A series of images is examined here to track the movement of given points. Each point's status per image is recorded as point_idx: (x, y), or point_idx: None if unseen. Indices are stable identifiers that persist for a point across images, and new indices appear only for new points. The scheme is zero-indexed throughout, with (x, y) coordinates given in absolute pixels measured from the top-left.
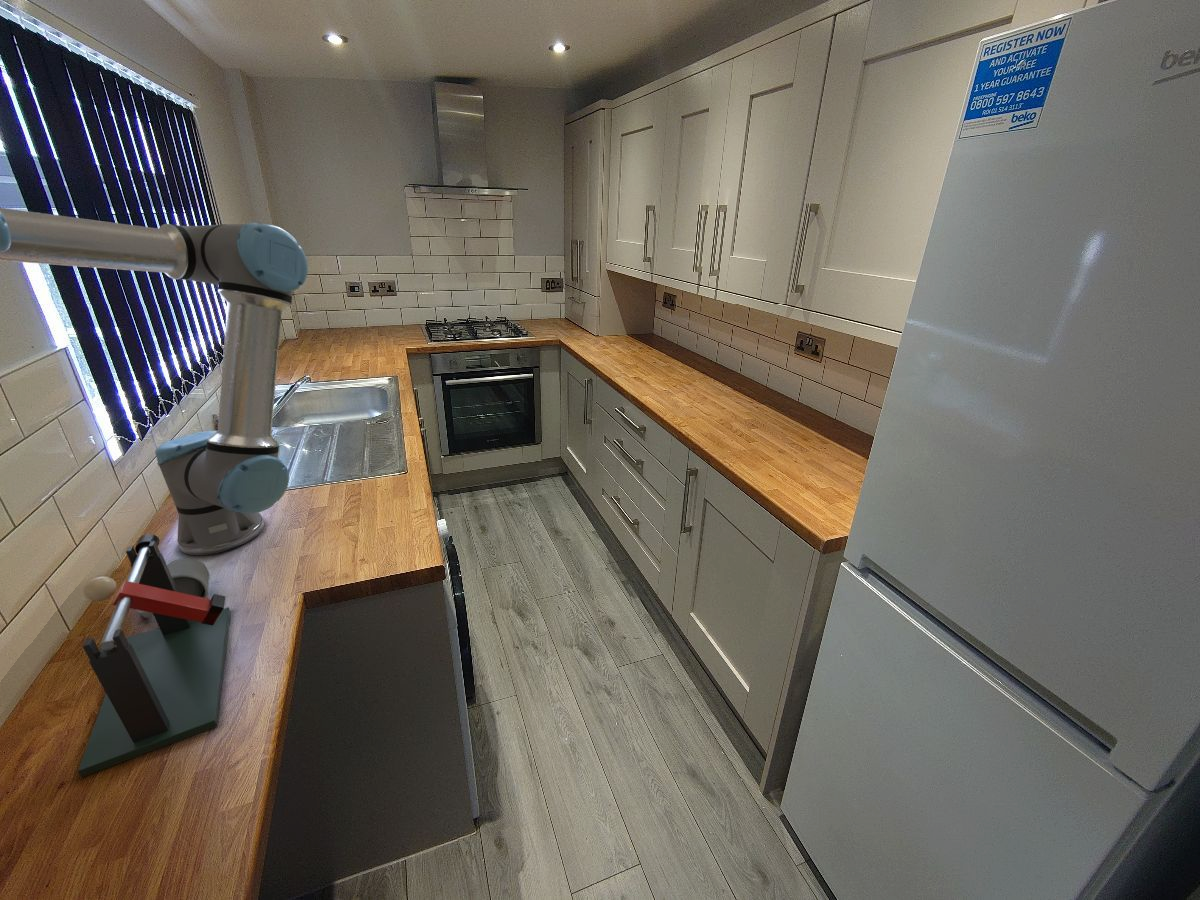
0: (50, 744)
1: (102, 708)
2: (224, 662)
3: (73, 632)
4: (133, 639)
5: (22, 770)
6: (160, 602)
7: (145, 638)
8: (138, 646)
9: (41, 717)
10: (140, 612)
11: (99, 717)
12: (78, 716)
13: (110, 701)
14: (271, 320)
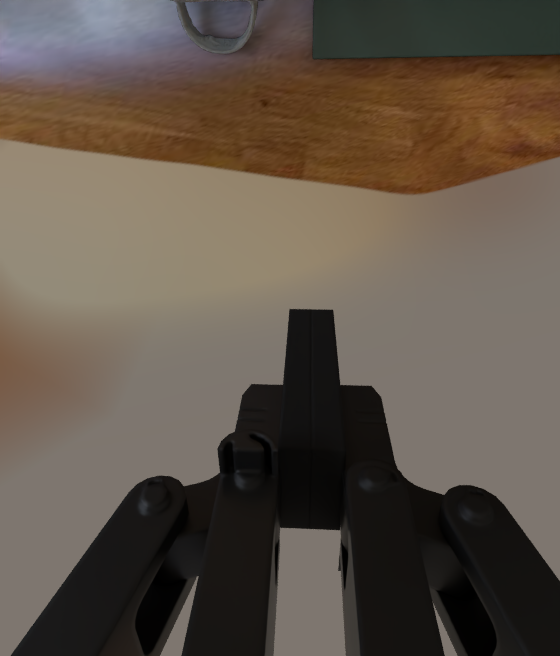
0: (522, 122)
1: (518, 50)
2: None
3: (224, 169)
4: (329, 41)
5: (552, 145)
6: None
7: (340, 14)
8: (361, 24)
9: (443, 154)
10: (244, 42)
11: (540, 50)
12: (481, 97)
13: (508, 40)
14: None
